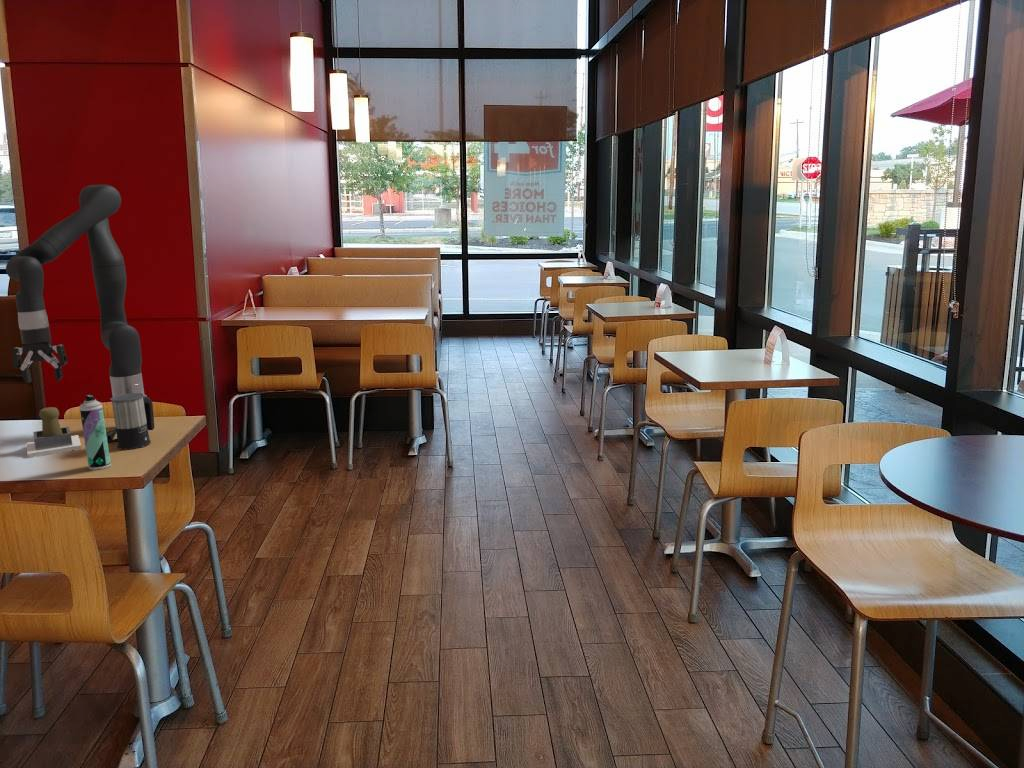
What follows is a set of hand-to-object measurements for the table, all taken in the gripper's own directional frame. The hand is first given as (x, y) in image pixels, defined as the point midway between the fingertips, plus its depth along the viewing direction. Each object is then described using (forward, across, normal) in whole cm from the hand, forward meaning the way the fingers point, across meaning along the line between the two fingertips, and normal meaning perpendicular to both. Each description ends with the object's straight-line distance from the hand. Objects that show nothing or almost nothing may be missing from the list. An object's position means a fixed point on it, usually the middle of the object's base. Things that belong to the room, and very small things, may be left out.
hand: (43, 381), depth 264 cm
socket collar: (+19, 0, 0) cm, 19 cm away
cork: (+19, 0, 0) cm, 19 cm away
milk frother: (+21, -20, 0) cm, 29 cm away
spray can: (+20, -22, +23) cm, 38 cm away
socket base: (+20, 0, 0) cm, 20 cm away
